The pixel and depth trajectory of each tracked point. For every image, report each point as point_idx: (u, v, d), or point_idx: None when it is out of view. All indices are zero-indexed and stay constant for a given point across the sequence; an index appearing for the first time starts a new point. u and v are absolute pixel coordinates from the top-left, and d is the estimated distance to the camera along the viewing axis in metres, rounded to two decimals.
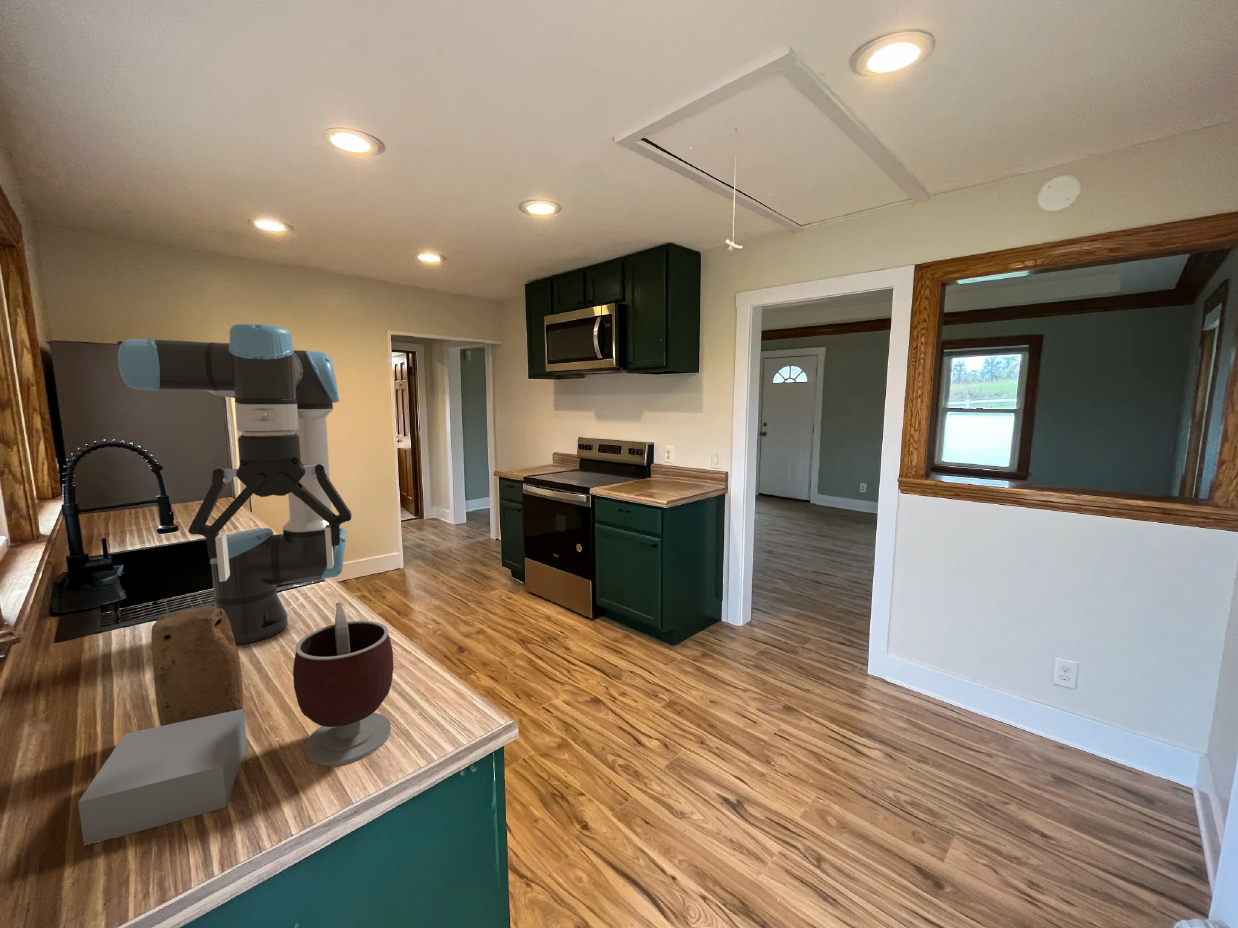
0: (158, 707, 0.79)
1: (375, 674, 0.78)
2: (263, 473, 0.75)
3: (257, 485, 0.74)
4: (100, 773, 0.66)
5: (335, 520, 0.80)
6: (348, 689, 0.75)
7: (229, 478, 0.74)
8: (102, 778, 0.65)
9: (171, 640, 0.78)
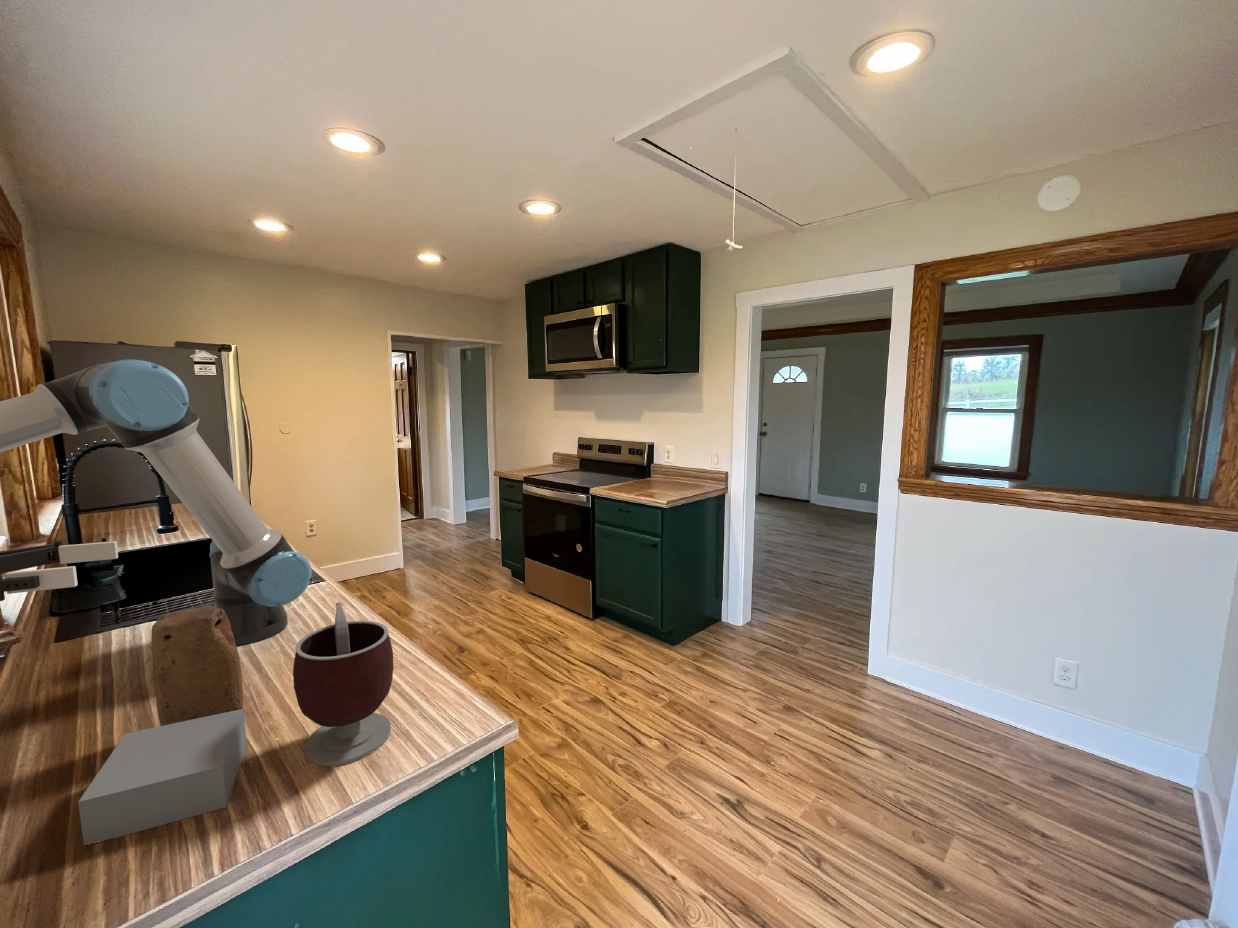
0: (158, 707, 0.79)
1: (375, 674, 0.78)
2: None
3: None
4: (100, 773, 0.66)
5: None
6: (348, 689, 0.75)
7: None
8: (102, 778, 0.65)
9: (171, 640, 0.78)
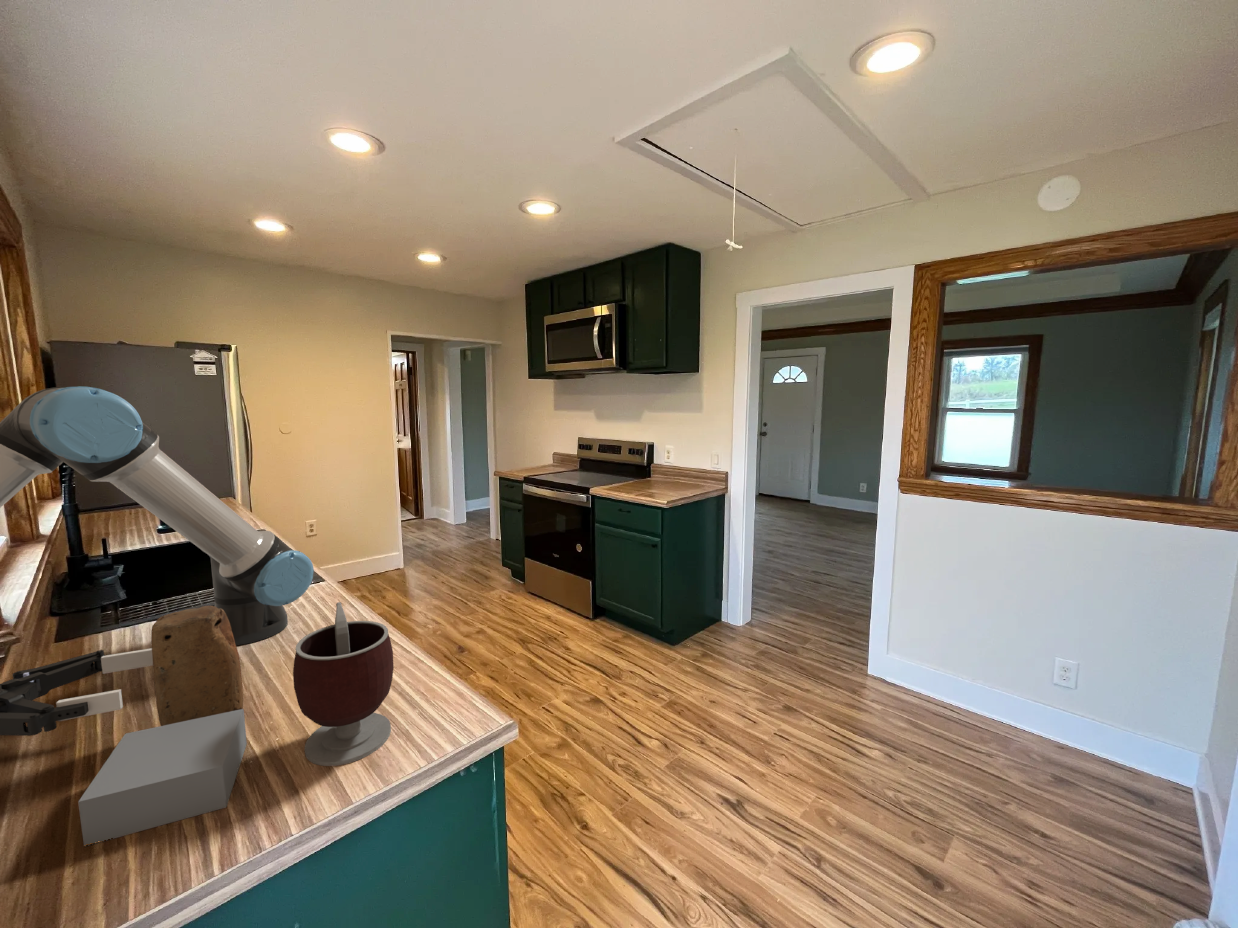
0: (158, 707, 0.79)
1: (375, 674, 0.78)
2: None
3: None
4: (100, 773, 0.66)
5: None
6: (348, 689, 0.75)
7: None
8: (102, 778, 0.65)
9: (171, 640, 0.78)
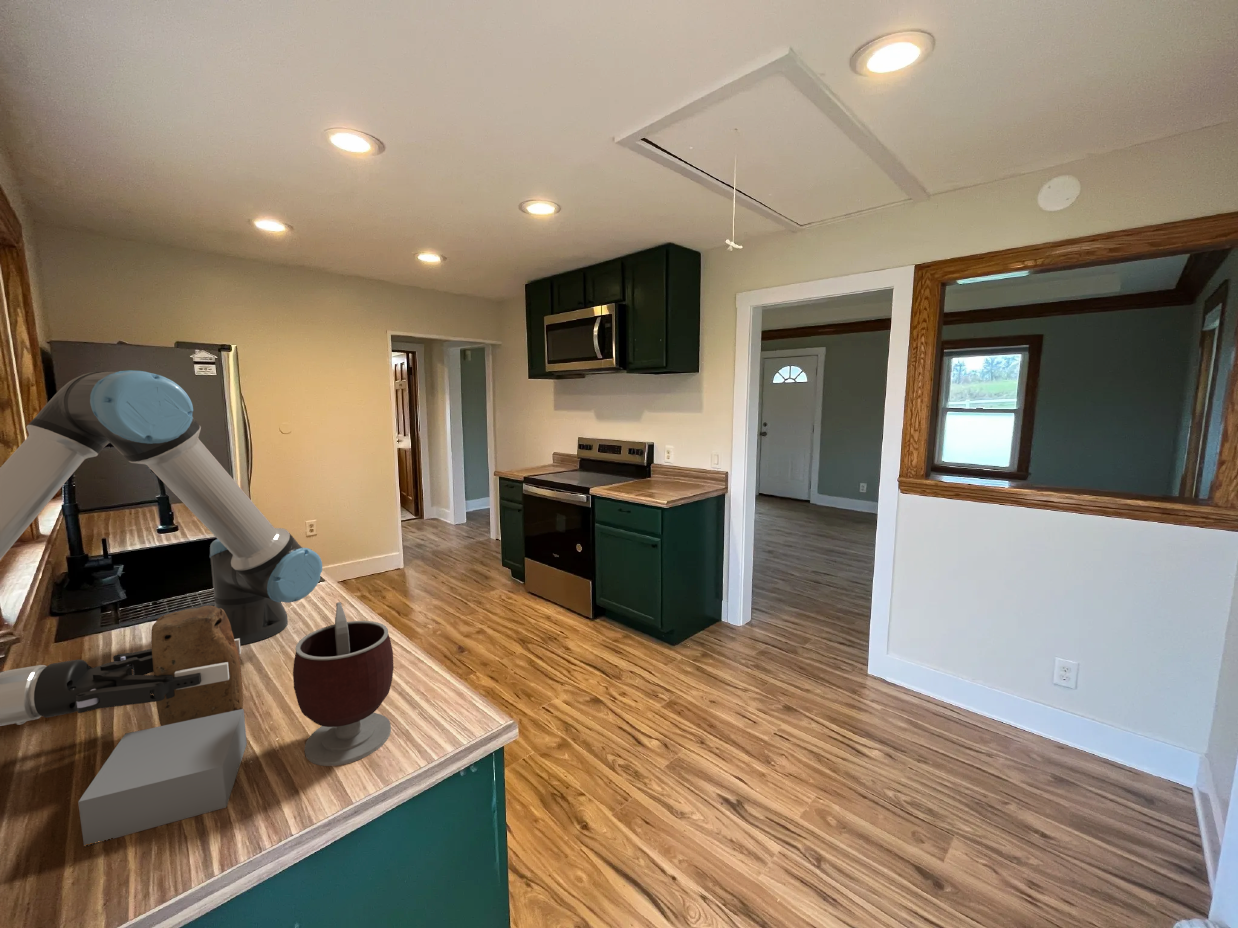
0: (158, 707, 0.79)
1: (375, 674, 0.78)
2: None
3: None
4: (100, 773, 0.66)
5: None
6: (348, 689, 0.75)
7: None
8: (102, 778, 0.65)
9: (171, 640, 0.78)
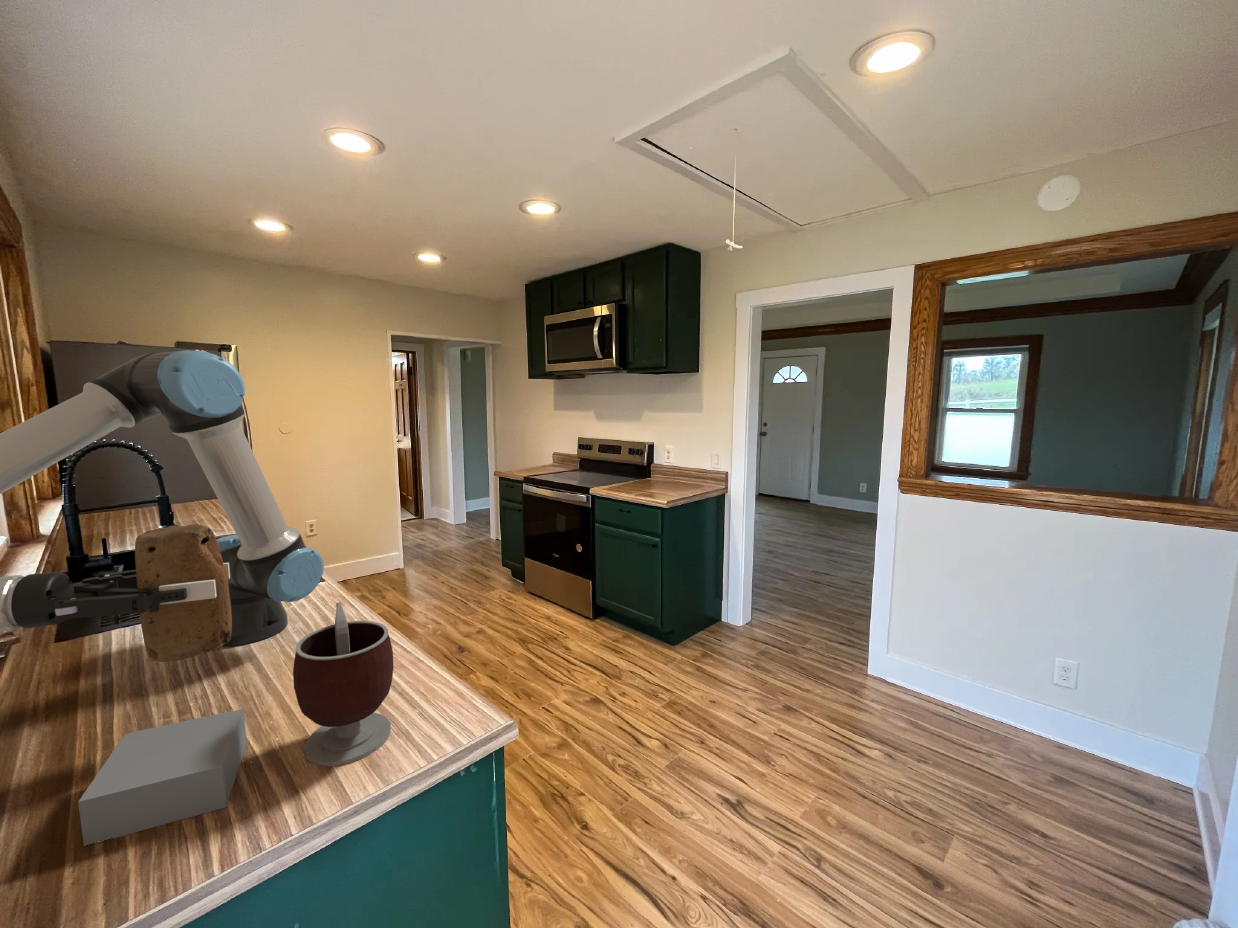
0: (142, 623, 0.76)
1: (375, 674, 0.78)
2: None
3: None
4: (100, 773, 0.66)
5: None
6: (348, 689, 0.75)
7: None
8: (102, 778, 0.65)
9: (155, 552, 0.75)
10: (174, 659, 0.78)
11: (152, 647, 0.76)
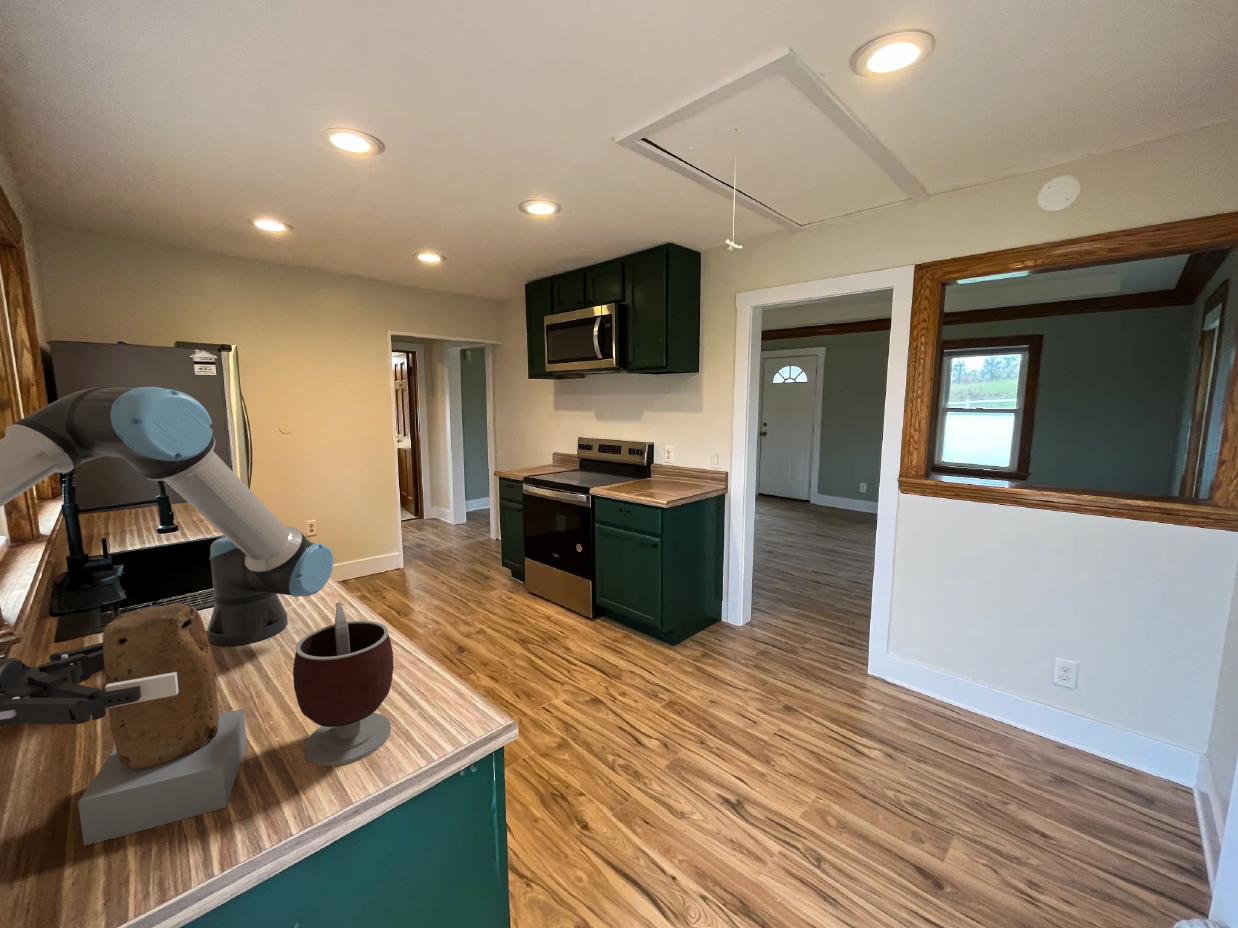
0: (111, 726, 0.65)
1: (375, 674, 0.78)
2: None
3: None
4: (100, 773, 0.66)
5: (92, 712, 0.61)
6: (348, 689, 0.75)
7: None
8: (102, 778, 0.65)
9: (126, 644, 0.65)
10: (150, 765, 0.67)
11: (123, 753, 0.65)
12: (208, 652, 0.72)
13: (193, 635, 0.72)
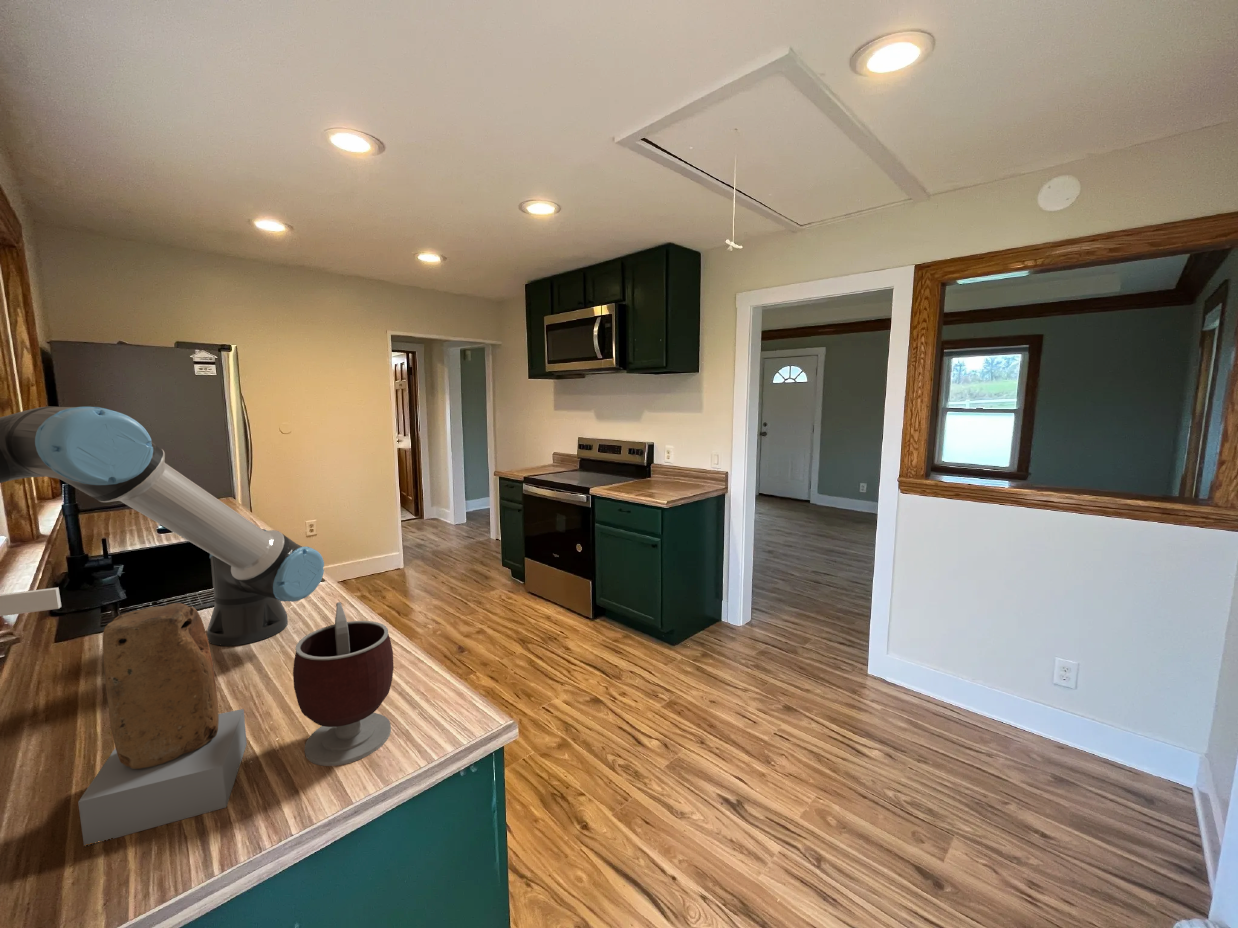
0: (111, 726, 0.65)
1: (375, 674, 0.78)
2: None
3: None
4: (100, 773, 0.66)
5: None
6: (348, 689, 0.75)
7: None
8: (102, 778, 0.65)
9: (126, 644, 0.65)
10: (150, 765, 0.67)
11: (123, 753, 0.65)
12: (208, 652, 0.72)
13: (193, 635, 0.72)
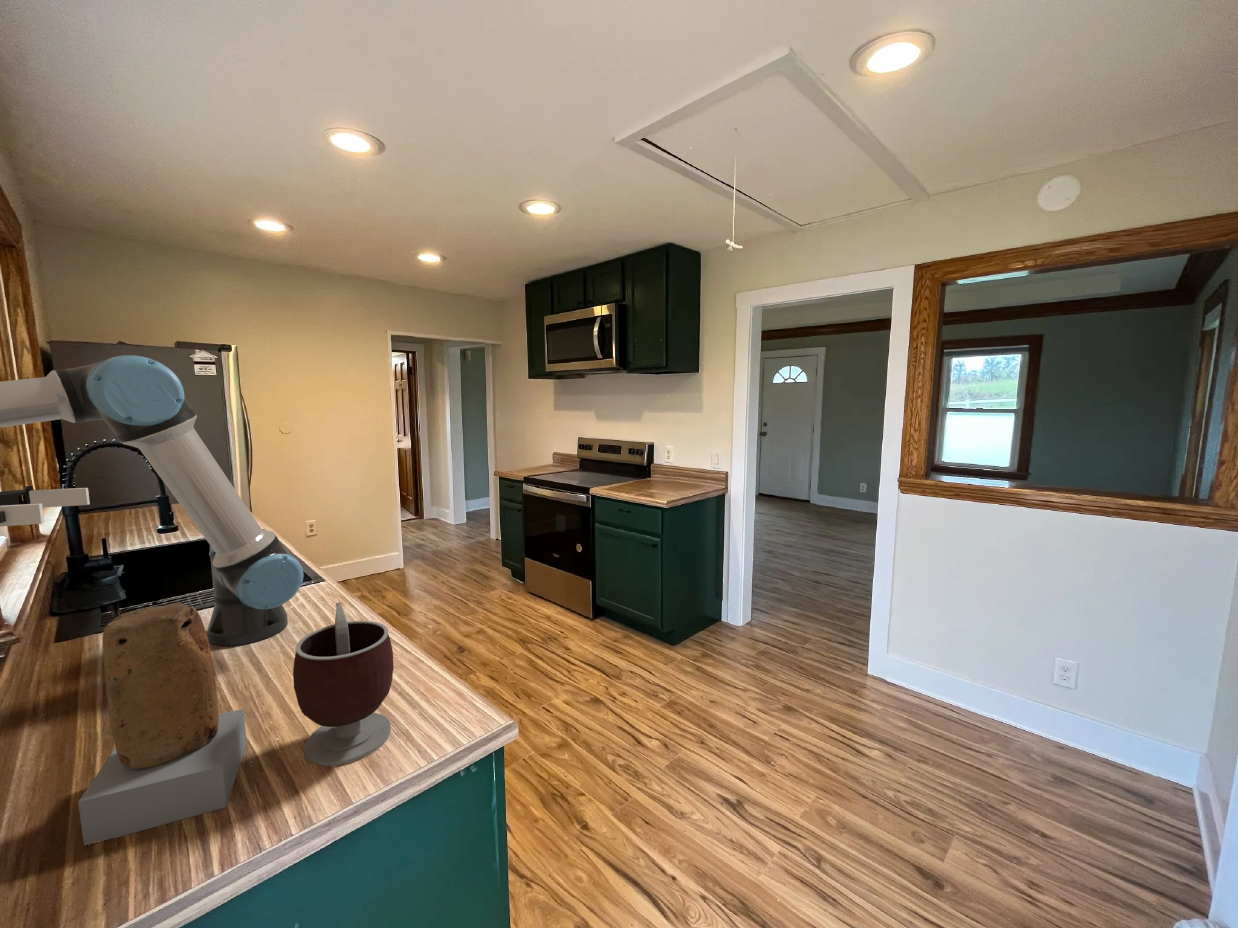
0: (111, 726, 0.65)
1: (375, 674, 0.78)
2: None
3: None
4: (100, 773, 0.66)
5: None
6: (348, 689, 0.75)
7: None
8: (102, 778, 0.65)
9: (126, 644, 0.65)
10: (150, 765, 0.67)
11: (123, 753, 0.65)
12: (208, 652, 0.72)
13: (193, 635, 0.72)
